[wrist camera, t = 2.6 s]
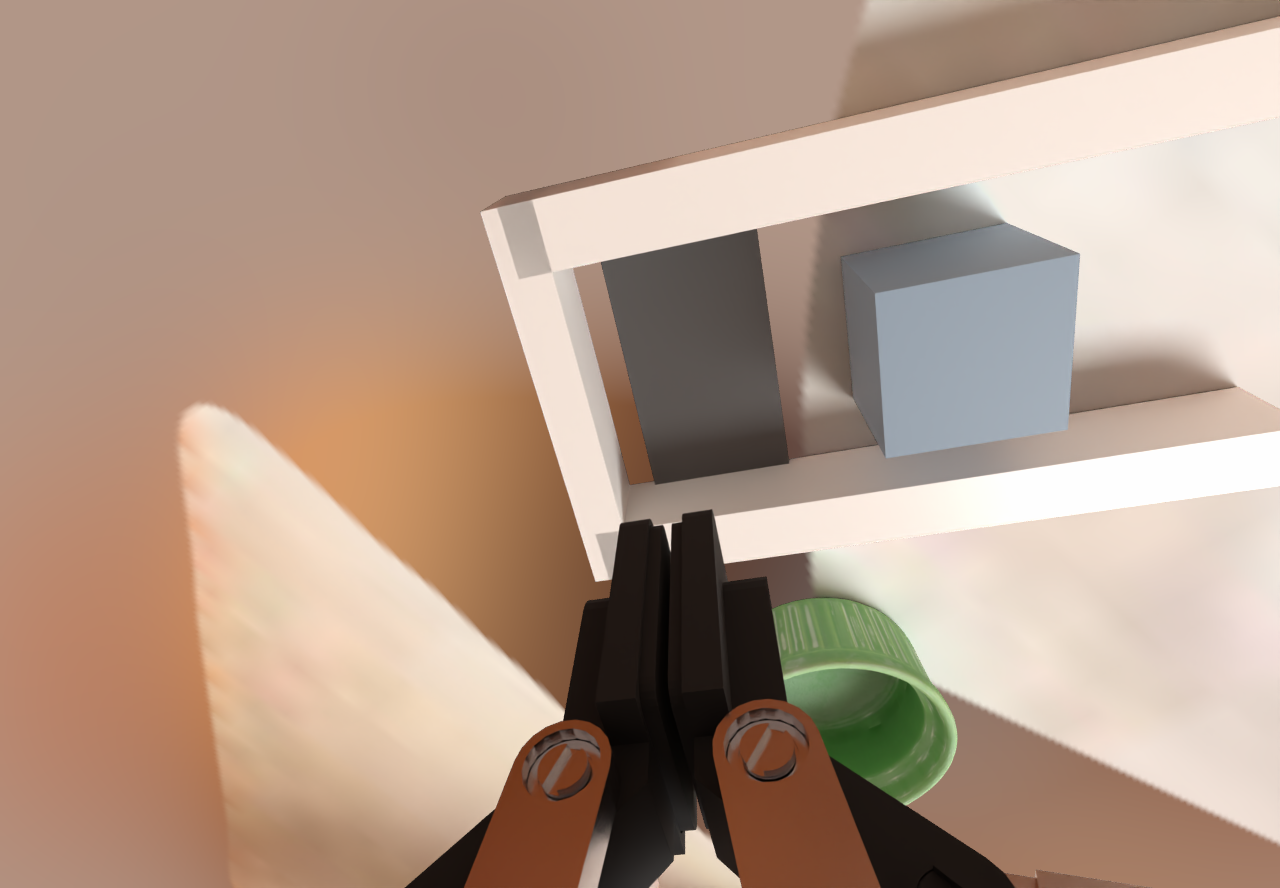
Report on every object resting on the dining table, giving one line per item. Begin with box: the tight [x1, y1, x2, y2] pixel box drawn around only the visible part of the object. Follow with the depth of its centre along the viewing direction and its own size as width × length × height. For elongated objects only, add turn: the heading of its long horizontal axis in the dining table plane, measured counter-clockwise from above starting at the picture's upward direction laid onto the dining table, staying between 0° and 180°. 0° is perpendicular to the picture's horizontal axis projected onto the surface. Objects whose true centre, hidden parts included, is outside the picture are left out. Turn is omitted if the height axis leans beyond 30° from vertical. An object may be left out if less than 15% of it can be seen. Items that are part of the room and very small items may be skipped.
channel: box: [480, 16, 1280, 582], centre depth 21 cm, size 13×22×3 cm, turn 102°
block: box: [841, 223, 1080, 458], centre depth 21 cm, size 5×5×4 cm
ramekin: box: [772, 598, 957, 805], centre depth 28 cm, size 9×9×4 cm
